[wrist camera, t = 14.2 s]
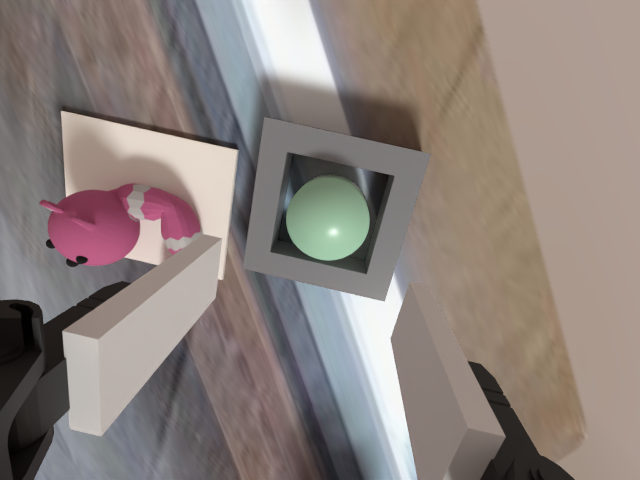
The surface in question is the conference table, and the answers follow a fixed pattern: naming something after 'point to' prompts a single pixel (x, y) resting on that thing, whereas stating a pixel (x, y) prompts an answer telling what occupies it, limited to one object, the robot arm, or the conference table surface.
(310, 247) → the button
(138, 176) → the paper sheet
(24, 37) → the conference table surface
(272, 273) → the button housing
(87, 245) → the toy
